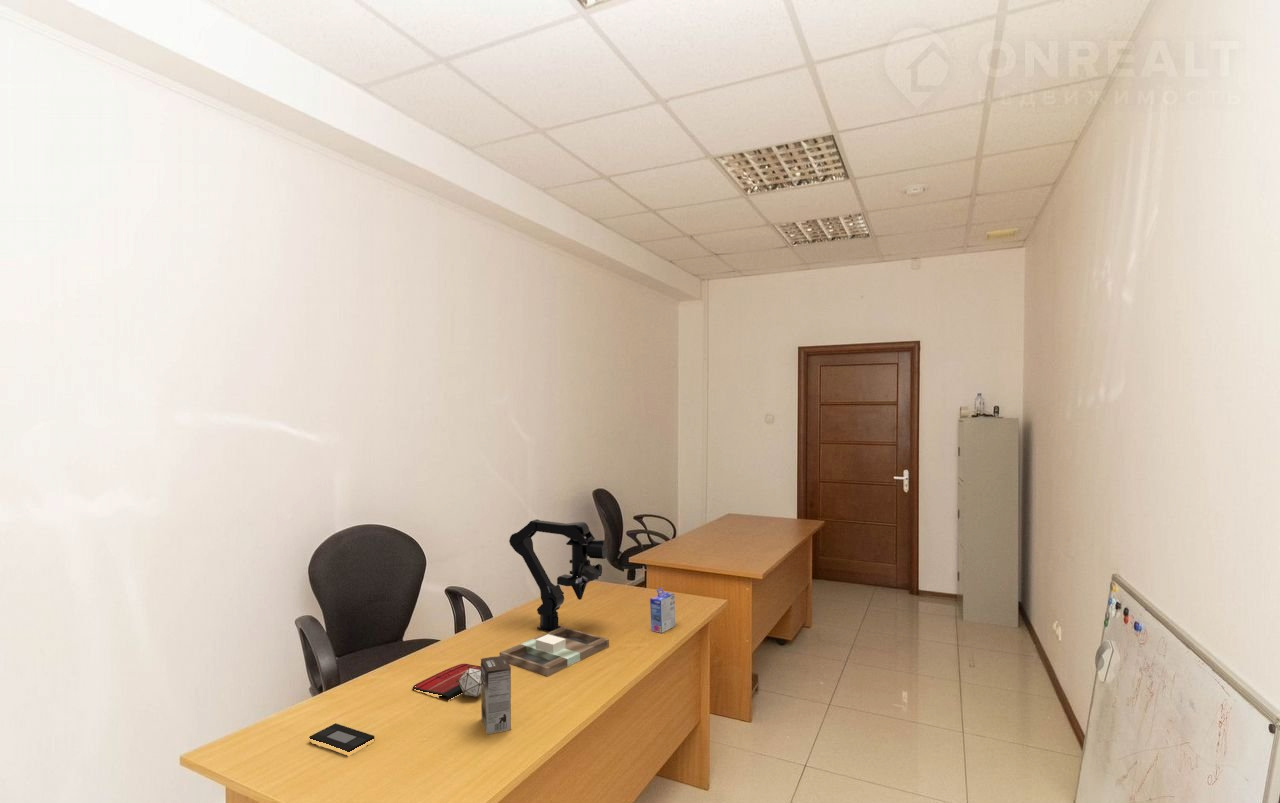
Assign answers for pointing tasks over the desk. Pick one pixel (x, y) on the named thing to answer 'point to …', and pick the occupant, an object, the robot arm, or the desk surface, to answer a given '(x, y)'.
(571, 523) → the robot arm
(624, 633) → the desk surface
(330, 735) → the black computer chip
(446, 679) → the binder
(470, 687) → the game die
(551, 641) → the cream block
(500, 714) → the coffee box
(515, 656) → the trap deck
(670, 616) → the ink cartridge box
